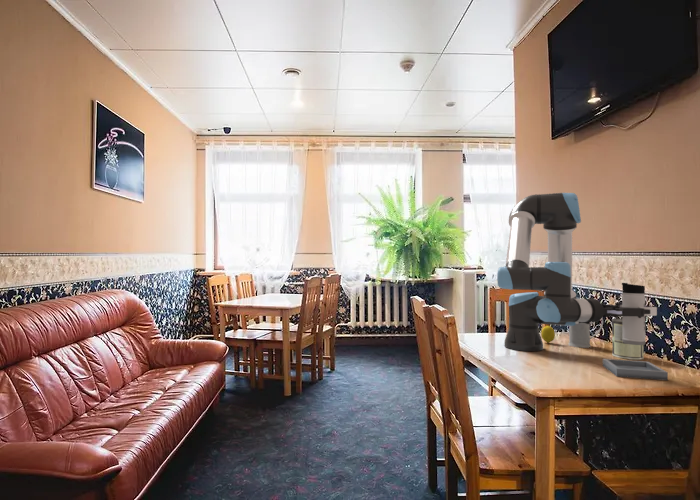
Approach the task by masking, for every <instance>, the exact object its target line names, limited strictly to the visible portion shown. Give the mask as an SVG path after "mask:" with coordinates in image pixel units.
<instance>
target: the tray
mask: <svg viewBox="0 0 700 500" xmlns="http://www.w3.org/2000/svg"><path fill="white" fill-rule="evenodd" d="M602 367H603V368H605V369H606V370H607V371H609V372H610V373H611V374H613V375H614V376H615V377H617V378H619V377H620V378H630V379H631V378H632V379H643V378H644V380H645V379H646V380H657V381H658V380H660V381H669V378H668V377H669V374H668V371H666V370H664V369H662V368H661V367H659V366H657V365H655V364H654V363H652V362H650V361H643V360H631V359H615V358H614V359H613V358H611V359H610V358H602Z"/></svg>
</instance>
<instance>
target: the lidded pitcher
mask: <svg viewBox="0 0 700 500" xmlns="http://www.w3.org/2000/svg"><path fill="white" fill-rule="evenodd" d="M592 324H594V322H579V323H578V324H576V325H574V326H568V327H569V328H568V331H569V333H568V335H569V338H568V339H569V340H568V344H567V345H568V346H569V347H573V348H581V349H582V348H583V349H584V348H585V349H586V348H587V349H589V347H590V348H591V347H592V345H591V344H590V342H591V340H592V338H594V337H595V336H597V335H598V334H599V333H600V332H601V330H602V329H603V325H604V318H603V317H602V318H601V325H600V327H599V329H598V330H597V331H596V333H595V334H592V335H591V336H590V334H591V333H590V332H591V331H590V330H591V328H590V327H591V326H590V325H592Z"/></svg>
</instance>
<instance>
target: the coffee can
mask: <svg viewBox="0 0 700 500" xmlns="http://www.w3.org/2000/svg"><path fill="white" fill-rule="evenodd" d="M611 322H612V323H611V325H612V332H611V333H612V334H611V335H612V354H611V355H612V357H615V358H618V359H622V360H630V361H642V360H645V359H644V356H645V355H644V351H645V350H644V345H632V344H626V343H623V336H622V318H612V319H611Z"/></svg>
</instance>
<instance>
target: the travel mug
mask: <svg viewBox="0 0 700 500" xmlns="http://www.w3.org/2000/svg"><path fill="white" fill-rule="evenodd" d="M621 285H622V286H621V287H622V291H621V292H622V293H621V294H622V297H621V298H622V301H621V302H622V303H621V305H622V307H627V308H637V307H646V291H645V290H646V287H645V285H640V284H632V283H631V284H630V283H628V282H621ZM621 317H622V318H621V319H622V336H623V343H626V344H632V345H643V346H644V345H646V316H644V317H641V318H638V316H621Z"/></svg>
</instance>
